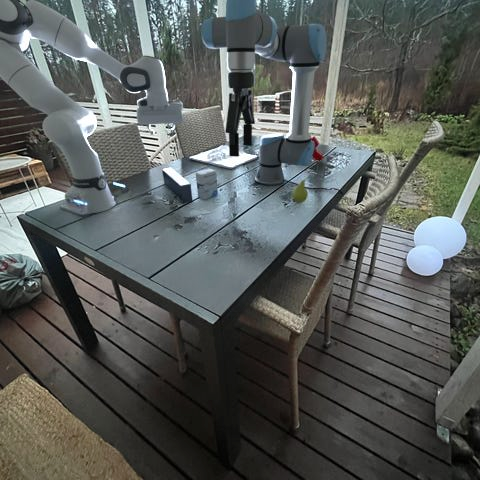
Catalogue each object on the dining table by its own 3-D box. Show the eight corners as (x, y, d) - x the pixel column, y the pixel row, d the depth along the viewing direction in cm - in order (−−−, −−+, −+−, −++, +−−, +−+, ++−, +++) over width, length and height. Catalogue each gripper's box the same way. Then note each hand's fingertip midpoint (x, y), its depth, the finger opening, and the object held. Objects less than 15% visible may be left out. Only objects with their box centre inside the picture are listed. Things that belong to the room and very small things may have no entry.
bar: (192, 200, 123) (190, 183, 119) (182, 203, 121) (180, 185, 117) (173, 182, 143) (170, 167, 138) (164, 184, 141) (161, 169, 136)
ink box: (211, 191, 132) (209, 167, 125) (218, 194, 129) (216, 170, 122) (197, 196, 127) (194, 172, 120) (204, 199, 124) (201, 174, 117)
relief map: (231, 168, 161) (231, 160, 158) (189, 159, 179) (189, 151, 176) (257, 158, 179) (257, 150, 176) (217, 150, 197) (216, 142, 194)
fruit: (288, 200, 123) (290, 174, 116) (302, 197, 125) (305, 172, 119) (296, 206, 118) (299, 179, 111) (310, 203, 120) (314, 177, 114)
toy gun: (327, 156, 170) (314, 135, 166) (326, 157, 167) (314, 136, 163) (301, 171, 180) (289, 151, 176) (301, 173, 177) (288, 153, 173)
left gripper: (181, 99, 123) (185, 131, 130) (134, 100, 119) (140, 133, 126) (182, 100, 118) (186, 134, 125) (133, 102, 114) (139, 136, 121)
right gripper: (242, 70, 85) (242, 140, 97) (210, 72, 65) (215, 160, 77) (265, 70, 83) (262, 142, 95) (239, 72, 63) (240, 162, 75)
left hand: (163, 133), depth 126 cm, fingers open, 8 cm apart
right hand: (241, 150), depth 86 cm, fingers open, 13 cm apart
